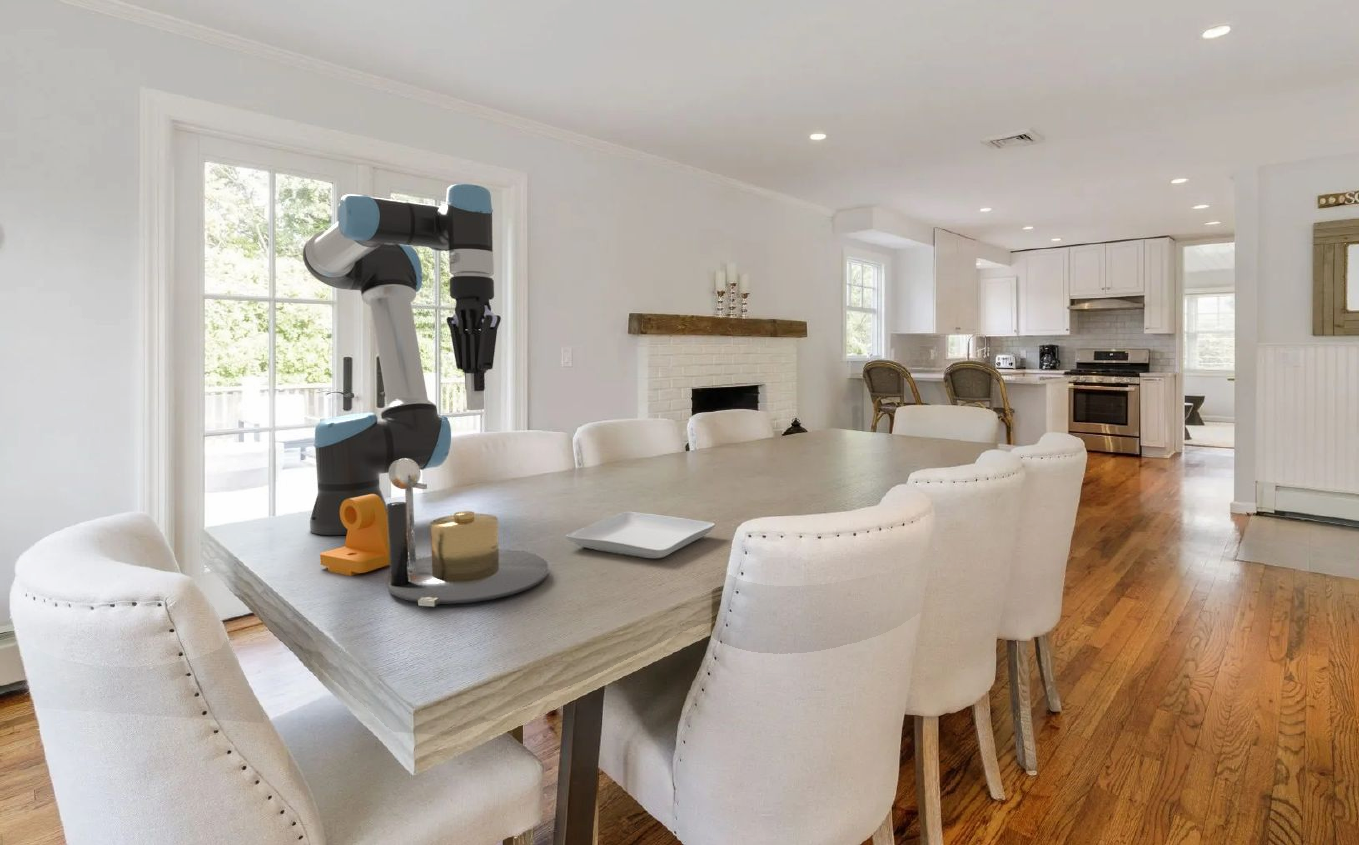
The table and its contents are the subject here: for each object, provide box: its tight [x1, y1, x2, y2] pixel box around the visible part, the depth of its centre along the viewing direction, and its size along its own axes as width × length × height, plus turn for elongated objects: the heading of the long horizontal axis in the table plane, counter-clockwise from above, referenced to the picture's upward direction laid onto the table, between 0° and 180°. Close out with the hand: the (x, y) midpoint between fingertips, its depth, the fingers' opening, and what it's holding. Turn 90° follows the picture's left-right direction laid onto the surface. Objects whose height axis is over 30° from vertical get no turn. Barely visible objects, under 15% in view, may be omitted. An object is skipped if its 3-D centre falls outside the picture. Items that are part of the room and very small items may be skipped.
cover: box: [429, 510, 500, 581], centre depth 108 cm, size 10×10×9 cm
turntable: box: [386, 501, 549, 607], centre depth 108 cm, size 24×24×13 cm
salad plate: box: [565, 510, 716, 559], centre depth 131 cm, size 21×21×3 cm
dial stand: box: [387, 458, 428, 563], centre depth 116 cm, size 7×4×18 cm, turn 83°
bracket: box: [319, 494, 390, 577], centre depth 116 cm, size 11×7×12 cm, turn 63°
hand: (475, 409), depth 125 cm, fingers closed
